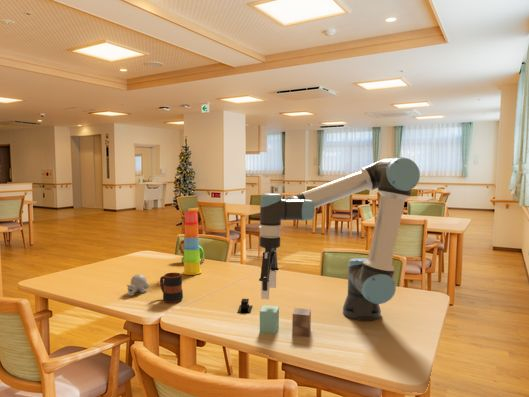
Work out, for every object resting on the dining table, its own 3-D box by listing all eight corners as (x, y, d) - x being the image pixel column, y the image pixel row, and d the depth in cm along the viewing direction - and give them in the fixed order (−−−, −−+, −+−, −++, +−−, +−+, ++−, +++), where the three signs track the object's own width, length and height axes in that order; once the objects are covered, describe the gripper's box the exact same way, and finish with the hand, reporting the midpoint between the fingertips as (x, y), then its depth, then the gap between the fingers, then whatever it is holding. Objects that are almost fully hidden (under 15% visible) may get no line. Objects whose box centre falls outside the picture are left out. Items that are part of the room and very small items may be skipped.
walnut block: (310, 330, 148) (310, 309, 147) (308, 337, 142) (309, 315, 141) (294, 328, 149) (294, 308, 148) (292, 335, 143) (292, 314, 143)
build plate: (238, 305, 175) (238, 295, 175) (255, 306, 174) (255, 295, 174) (234, 315, 163) (234, 304, 162) (252, 316, 162) (252, 305, 162)
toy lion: (205, 261, 249) (204, 237, 248) (202, 264, 244) (202, 239, 242) (180, 260, 252) (180, 236, 250) (177, 262, 246) (177, 238, 245)
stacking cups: (179, 274, 219) (179, 212, 216) (187, 270, 229) (186, 210, 226) (197, 276, 217) (197, 213, 214) (204, 271, 227) (204, 211, 224)
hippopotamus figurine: (124, 300, 186) (118, 285, 182) (140, 284, 195) (135, 270, 192) (136, 302, 183) (130, 287, 179) (152, 286, 192) (147, 271, 189)
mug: (167, 294, 187) (167, 270, 186) (186, 299, 180) (186, 273, 179) (153, 299, 179) (153, 274, 178) (173, 304, 173) (173, 278, 172)
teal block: (278, 327, 150) (278, 306, 150) (275, 333, 145) (276, 312, 144) (263, 325, 152) (263, 305, 151) (259, 332, 146) (259, 311, 145)
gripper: (266, 230, 158) (265, 282, 160) (251, 241, 134) (250, 303, 135) (285, 231, 156) (284, 283, 158) (273, 243, 132) (272, 305, 134)
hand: (268, 293), depth 147 cm, fingers open, 13 cm apart
